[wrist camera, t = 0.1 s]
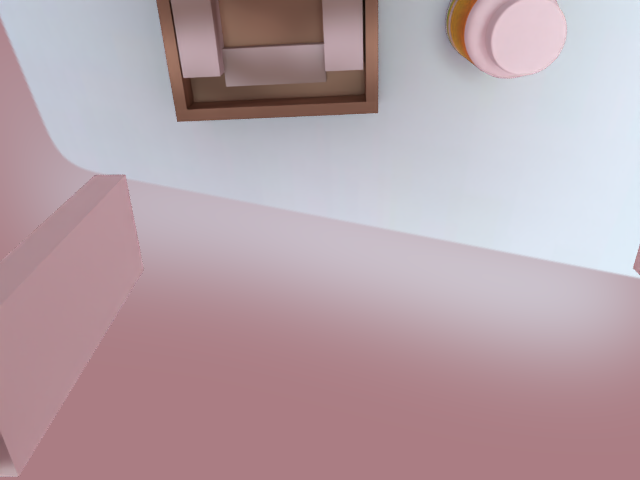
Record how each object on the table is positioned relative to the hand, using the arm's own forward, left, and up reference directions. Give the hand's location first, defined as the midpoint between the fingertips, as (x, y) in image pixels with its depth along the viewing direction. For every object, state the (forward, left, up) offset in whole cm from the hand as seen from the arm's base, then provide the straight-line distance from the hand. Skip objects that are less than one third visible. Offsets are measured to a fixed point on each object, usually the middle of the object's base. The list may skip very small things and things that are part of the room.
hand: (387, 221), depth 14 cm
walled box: (-4, -5, -28) cm, 29 cm away
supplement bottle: (-2, +9, -28) cm, 30 cm away
